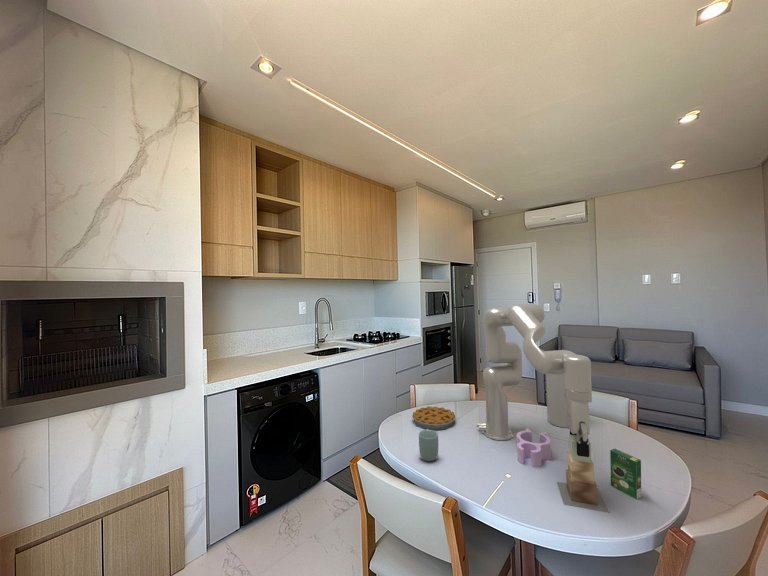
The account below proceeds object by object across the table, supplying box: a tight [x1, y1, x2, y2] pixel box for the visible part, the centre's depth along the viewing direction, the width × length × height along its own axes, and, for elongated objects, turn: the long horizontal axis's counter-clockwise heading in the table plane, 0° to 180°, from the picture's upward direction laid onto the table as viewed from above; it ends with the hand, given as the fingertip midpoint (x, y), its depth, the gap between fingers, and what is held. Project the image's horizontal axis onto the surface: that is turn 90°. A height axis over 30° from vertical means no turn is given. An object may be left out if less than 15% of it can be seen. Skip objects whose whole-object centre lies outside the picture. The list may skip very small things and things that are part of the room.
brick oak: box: [566, 451, 596, 484], centre depth 99 cm, size 6×6×6 cm
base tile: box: [556, 481, 611, 514], centre depth 99 cm, size 12×12×1 cm
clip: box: [516, 428, 552, 468], centre depth 125 cm, size 20×12×7 cm, turn 145°
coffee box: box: [609, 448, 642, 500], centre depth 101 cm, size 8×3×13 cm, turn 22°
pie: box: [411, 406, 456, 431], centre depth 162 cm, size 22×22×5 cm
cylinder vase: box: [545, 373, 569, 429], centre depth 156 cm, size 12×12×25 cm
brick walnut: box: [565, 468, 598, 506], centre depth 99 cm, size 7×7×6 cm
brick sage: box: [568, 434, 592, 463], centre depth 99 cm, size 5×5×6 cm
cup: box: [418, 429, 439, 462], centre depth 126 cm, size 8×8×10 cm
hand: (579, 448), depth 100 cm, fingers open, 9 cm apart
